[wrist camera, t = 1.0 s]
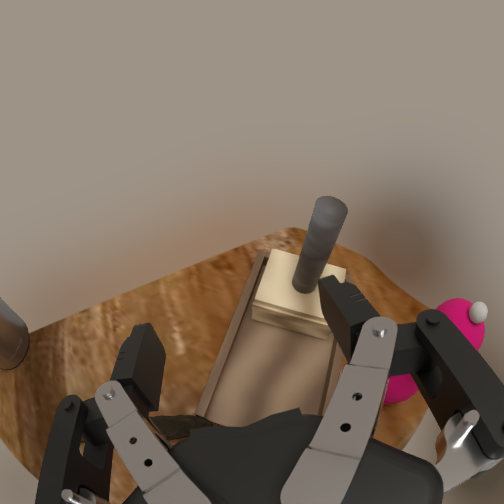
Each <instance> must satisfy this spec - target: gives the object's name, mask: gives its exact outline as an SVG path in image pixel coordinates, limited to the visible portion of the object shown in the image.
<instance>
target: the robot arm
mask: <svg viewBox="0 0 504 504" xmlns="http://www.w3.org/2000/svg"><path fill="white" fill-rule="evenodd" d="M318 289H319V297H320V305H321V310H322V314H323V316H324V319H325V320H326V322H327V324H328V326H329V328H330V330H331V331H332V333H333V335H334V337H335V339H336V341H337V342H338V344H339V346H340V348H341V350H342V352H343V354H344V355H345V357H346V359H347V361H348V363H347V364H346V365H345V367H344V369H343V372H342V374H341V377H340V380H339V382H338V384H337V387H336V389H335V392H334V394H333V396H332V399H331V401H330V403H329V406H328V408H327V410H326V412H325V414H324V416H323V415H316V414H301V411H300V407H298V408H295V409H291V410H288V411H284V412H280V413H276V414H272V415H270V416H268V417H265V418H263V419H261V420H259V421H257V422H254V423H252V424H250V425H248V426H245V427H230V426H211V427H204V428H196V429H190V437H189V438H186V439H184V440H182V441H180V442H179V443H177V444H176V445H174V446H172V445H171V444H170V443H169V442H168V440H167V439H166V438H165V437H164V436H163V434H162V433H161V432H160V431H159V429H158V428H157V427H156V426H155V424H154V423H153V422H152V420H151V419H150V418H149V417H148V416H149V412H152V411H158V409H159V401H160V393H161V386H162V379H163V372H164V365H165V359H166V354H165V350H164V347H163V345H162V343H161V341H160V340H159V338H158V336H157V334H156V332H155V331H154V329H153V327H152V325H151V324H150V323H144V324H140V325H135V326H134V327H133V330H132V333H131V336H130V337H128V338H127V339H126V340H125V341H124V343H123V344H122V346H121V348H120V351H119V354H118V357H117V361H116V363H115V366H114V369H113V373H112V376H111V379H110V381H108V382H105V383H104V384H102V385H101V386H100V387H99V388H98V389H97V391H96V393H95V397H94V398H91V399H88V400H85V401H82V400H81V399H80V398H79V397H78V396H77V395H69V396H67V397H65V398H64V399H63V400H62V401H61V402H60V404H59V406H58V409H57V412H56V416H55V419H54V422H53V425H52V429H51V432H50V436H49V439H48V443H47V447H46V451H45V455H44V459H43V463H42V468H41V472H40V477H39V482H38V488H37V494H36V500H35V504H110V503H109V491H110V478H111V467H112V457H113V449H114V447H115V448H116V450H117V452H118V454H119V455H120V457H121V459H122V460H123V462H124V464H125V465H126V467H127V469H128V470H129V472H130V473H131V475H132V476H133V478H134V479H135V481H136V482H137V484H138V485H139V486H138V487H137V488H136V489H135V490H134V491H133V492H132V493H131V495H130V496H129V497H128V498H127V499H126V500H125V501H124V502H123V503H122V504H442V499H443V494H445V493H447V492H448V491H450V490H452V489H453V488H455V487H457V486H459V485H460V484H462V483H463V482H465V481H467V480H468V479H470V478H477V477H480V476H482V475H483V474H484V473H486V472H487V471H488V470H490V469H491V468H492V467H493V466H495V465H496V464H497V463H498V462H499V461H500V460H502V459H503V458H504V385H503V384H502V382H501V381H500V380H499V378H498V377H497V376H496V374H495V373H494V372H493V370H492V369H491V368H490V367H489V365H488V364H487V362H486V361H485V360H484V359H483V357H482V356H481V355H480V354H479V353H478V351H477V350H476V349H475V348H474V346H473V345H472V344H471V343H470V342H469V340H468V339H467V338H466V337H465V336H464V334H463V333H462V332H461V331H460V330H459V329H458V328H457V326H456V325H455V324H454V323H453V322H452V321H451V320H450V319H449V317H448V316H447V315H446V314H445V313H443V312H441V311H439V310H434V309H430V310H425V311H423V312H421V313H420V314H419V315H418V317H417V320H416V322H414V323H407V324H396V323H395V322H394V321H393V320H392V319H390V318H387V317H381V316H380V315H379V314H378V312H377V311H376V310H375V309H374V307H373V306H372V305H371V304H370V303H369V301H368V300H367V299H365V296H364V295H363V294H361V292H360V290H359V289H358V288H357V287H356V286H355V285H353V284H351V283H349V282H343V283H340V282H339V281H338V279H337V278H336V277H335V275H330V276H326V277H323V278H320V279H318ZM28 343H29V333H28V328H27V326H26V324H25V323H24V321H23V320H22V319H21V318H20V317H19V316H18V315H17V314H16V313H15V312H14V311H13V310H12V309H11V308H10V307H9V306H8V305H7V304H6V303H5V302H4V301H3V300H2V299H1V298H0V368H2V369H6V370H7V369H12V368H14V367H16V366H17V365H18V364H19V363H20V362H21V361H22V359H23V358H24V356H25V354H26V351H27V348H28ZM405 374H410V375H411V377H412V378H413V380H414V382H415V383H416V385H417V387H418V389H419V390H420V392H421V394H422V396H423V397H424V399H425V401H426V403H427V405H428V406H429V408H430V410H431V412H432V414H433V415H434V417H435V419H436V421H437V423H438V425H439V427H440V429H441V433H440V434H439V436H438V437H437V440H436V444H435V447H436V451H437V462H436V464H435V466H433V465H432V464H431V463H430V462H428V461H426V460H424V459H421V458H419V457H416V456H413V455H411V454H408V453H406V452H403V451H401V450H399V449H396V448H394V447H392V446H389V445H387V444H385V443H382V442H380V441H378V440H376V439H374V438H373V437H374V434H375V431H376V428H377V424H378V421H379V417H380V414H381V410H382V407H383V403H384V399H385V396H386V392H387V388H388V384H389V380H390V377H391V376H398V375H405ZM81 436H83V437H84V438H85V439H86V442H85V447H84V452H83V457H82V455H81V454H80V451H79V446H80V441H81Z"/></svg>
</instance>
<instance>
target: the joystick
mask: <svg viewBox="0 0 504 504" xmlns="http://www.w3.org/2000/svg"><path fill="white" fill-rule="evenodd" d="M347 212H348V209H347V207H346V205H345V204H344V203H343V202H342V201H341V200H339V199H337V198H334V197H331V196H322V197H320V198H318V199H317V200H316V203H315V207H314V210H313V214H312V217H311V221H310V224H309V228H308V231H307V234H306V237H305V241H304V244H303V247H302V250H301V254H300V256H298V255H294V254H291V253H287V252H283V251H280V250H276V249H273V248H272V251H271V254H270V257H269V259H268V262H267V265H266V268H265V271H264V274H263V276H262V279H261V282H260V285H259V288H258V291H257V293H256V296H255V299H254V302H253V306H252V310H253V312H252V318H251V319H253V320H257V321H260V322H263V323H267V324H270V325H274V326H277V327H281V328H284V329H288V330H291V331H295V332H299V333H302V334H306V335H310V336H314V337H317V338H321V339H325V340H326V339H327V338H328V337H329V336H330V334H331V333H332V331H331V330H330V328H329V326H328V324H327V322H326V320H325V319H324V316H323V314H322V310H321V305H320V297H319V289H318V279H320V278H323V277H326V276H330V275H335V277H336V278H337V279H338V281H339V282H340V283H343V282H345V274H346V269H343V268H340V267H336V266H333V265H329V264H326V263H327V261H328V259H329V257H330V254H331V252H332V249H333V247H334V245H335V242H336V240H337V238H338V235H339V233H340V230H341V228H342V225H343V223H344V220H345V218H346V215H347Z"/></svg>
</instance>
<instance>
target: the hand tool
mask: <svg viewBox="0 0 504 504" xmlns="http://www.w3.org/2000/svg"><path fill="white" fill-rule="evenodd" d="M55 416H56V414H55ZM149 418H150V419H151V420H152V422H153V423H154V424H155V426H156V427H157V428H158V429H159V431H160V432H161V433H162V434H163V436H164V437H165V438H166V439H167V440H174V439H179V438H184V437H187V436H190V429H196V428H204V427H211V426H212V425H213V424H212V423H211V422H210V421H209V420H207V419H206V418H202V417H196V416H193V415H178V416H156V417H149ZM54 419H55V417H54ZM80 442H86V439H85V438H84V437H83V436H81V441H80Z"/></svg>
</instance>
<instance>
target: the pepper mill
mask: <svg viewBox="0 0 504 504" xmlns="http://www.w3.org/2000/svg"><path fill="white" fill-rule="evenodd" d="M435 310H439V311H441V312H443V313H445V314H446V315H447V316H448V317H449V319H450V320H451V321H452V322H453V323H454V324H455V325H456V326H457V328H458V329H459V330H460V331H461V332H462V333H463V334H464V336H465V337H466V338H467V339H468V340H469V342H470V343H471V344H472V345H473V346H474V348H475V349H476V350H477V351H478V350H479V348H480V346H481V344H482V342H483V338H484V333H485V327H484V320H485V319H486V317H487V312H488V311H487V307H486V305H485V304H484V303H482V302H476V303H474V304H473V303H471V302H469V301H467V300H464V299H461V298H455V299H450V300H447V301H445V302H444V303H442V304H441V305H440V306H438V307H437V308H436V309H435ZM418 390H419V389H418V387H417V385H416V383H415V382H414V380H413V378H412V377H411V375H410V374H405V375H398V376H391V377H390V380H389V384H388V388H387V392H386V396H385V399H384V403H383V405H387V404H389V403H398V402H402V401H405V400H407V399H408V398H410V397H411V396H413V395H414V394H415V393H416V392H417V391H418Z"/></svg>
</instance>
